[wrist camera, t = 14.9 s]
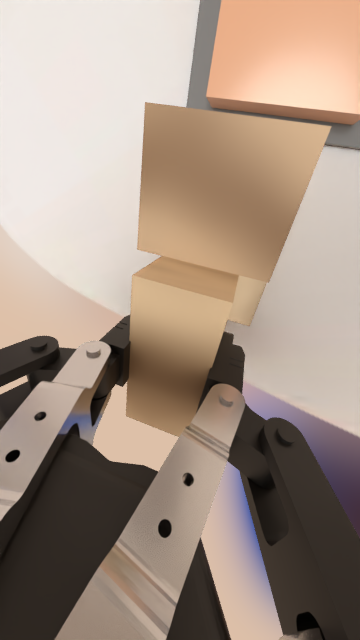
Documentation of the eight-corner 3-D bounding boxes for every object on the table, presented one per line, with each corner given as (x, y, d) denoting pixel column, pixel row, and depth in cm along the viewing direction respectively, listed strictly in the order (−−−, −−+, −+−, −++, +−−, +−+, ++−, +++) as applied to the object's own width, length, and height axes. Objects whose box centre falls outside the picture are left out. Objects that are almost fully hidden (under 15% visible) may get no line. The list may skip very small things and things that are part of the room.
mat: (664, -219, 8) (682, -237, 7) (429, 159, 14) (434, 158, 13) (225, -174, 11) (224, -186, 10) (186, 124, 16) (184, 123, 16)
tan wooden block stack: (221, 396, 14) (211, 450, 11) (134, 366, 15) (105, 407, 12) (326, 131, 7) (376, 85, 4) (152, 108, 8) (92, 58, 5)
